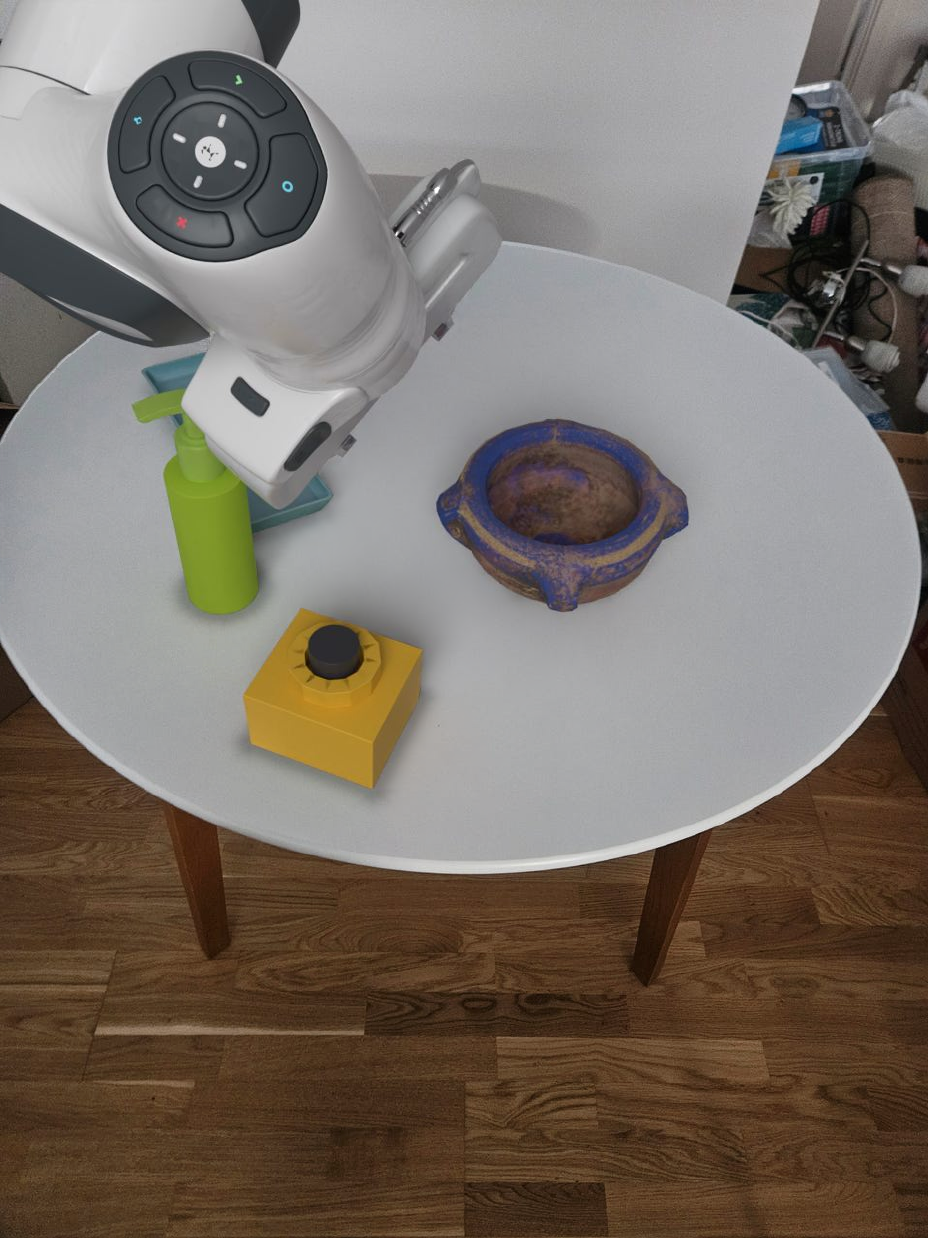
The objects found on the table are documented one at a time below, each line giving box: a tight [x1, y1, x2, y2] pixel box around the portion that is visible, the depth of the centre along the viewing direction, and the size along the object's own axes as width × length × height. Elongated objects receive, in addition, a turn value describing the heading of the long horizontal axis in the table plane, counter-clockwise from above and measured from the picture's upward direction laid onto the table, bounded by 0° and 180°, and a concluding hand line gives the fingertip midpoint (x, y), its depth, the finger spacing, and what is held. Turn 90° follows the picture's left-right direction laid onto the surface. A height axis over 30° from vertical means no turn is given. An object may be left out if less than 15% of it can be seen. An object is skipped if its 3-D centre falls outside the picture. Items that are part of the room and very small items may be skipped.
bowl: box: [435, 418, 690, 613], centre depth 84 cm, size 18×18×10 cm
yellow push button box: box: [242, 607, 423, 790], centre depth 72 cm, size 10×9×8 cm
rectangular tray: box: [140, 351, 334, 534], centre depth 94 cm, size 26×9×2 cm, turn 31°
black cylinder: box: [308, 625, 360, 679], centre depth 68 cm, size 4×4×2 cm
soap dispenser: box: [131, 388, 259, 615], centre depth 75 cm, size 6×7×20 cm
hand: (388, 383), depth 61 cm, fingers open, 8 cm apart
